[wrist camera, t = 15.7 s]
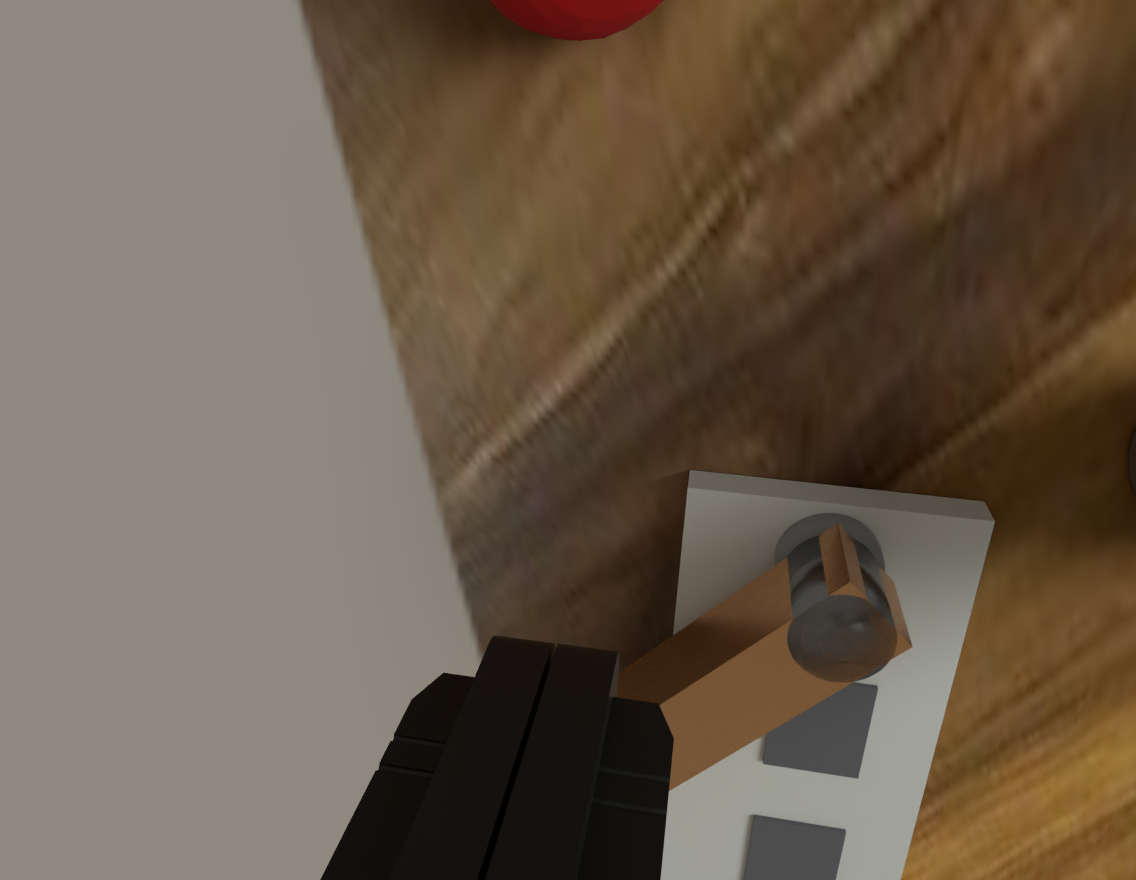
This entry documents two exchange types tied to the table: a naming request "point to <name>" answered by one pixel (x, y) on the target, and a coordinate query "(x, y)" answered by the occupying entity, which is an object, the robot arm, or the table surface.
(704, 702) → the swing arm
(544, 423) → the table surface
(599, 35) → the fruit
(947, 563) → the label board
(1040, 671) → the table surface
